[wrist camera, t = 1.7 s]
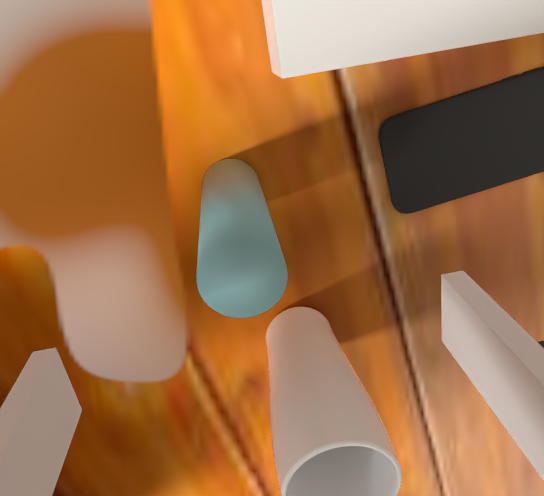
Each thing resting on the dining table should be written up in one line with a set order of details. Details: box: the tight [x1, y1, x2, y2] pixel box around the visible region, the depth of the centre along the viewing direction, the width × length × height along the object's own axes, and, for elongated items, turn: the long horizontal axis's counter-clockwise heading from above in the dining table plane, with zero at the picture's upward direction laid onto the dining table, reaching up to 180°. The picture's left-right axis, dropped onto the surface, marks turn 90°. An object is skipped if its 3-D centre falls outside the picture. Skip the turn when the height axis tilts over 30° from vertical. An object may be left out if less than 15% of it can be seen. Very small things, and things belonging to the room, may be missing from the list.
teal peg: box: [196, 158, 288, 318], centre depth 27 cm, size 4×4×14 cm
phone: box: [379, 67, 544, 214], centre depth 34 cm, size 7×1×15 cm
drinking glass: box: [266, 307, 402, 496], centre depth 32 cm, size 7×7×15 cm
